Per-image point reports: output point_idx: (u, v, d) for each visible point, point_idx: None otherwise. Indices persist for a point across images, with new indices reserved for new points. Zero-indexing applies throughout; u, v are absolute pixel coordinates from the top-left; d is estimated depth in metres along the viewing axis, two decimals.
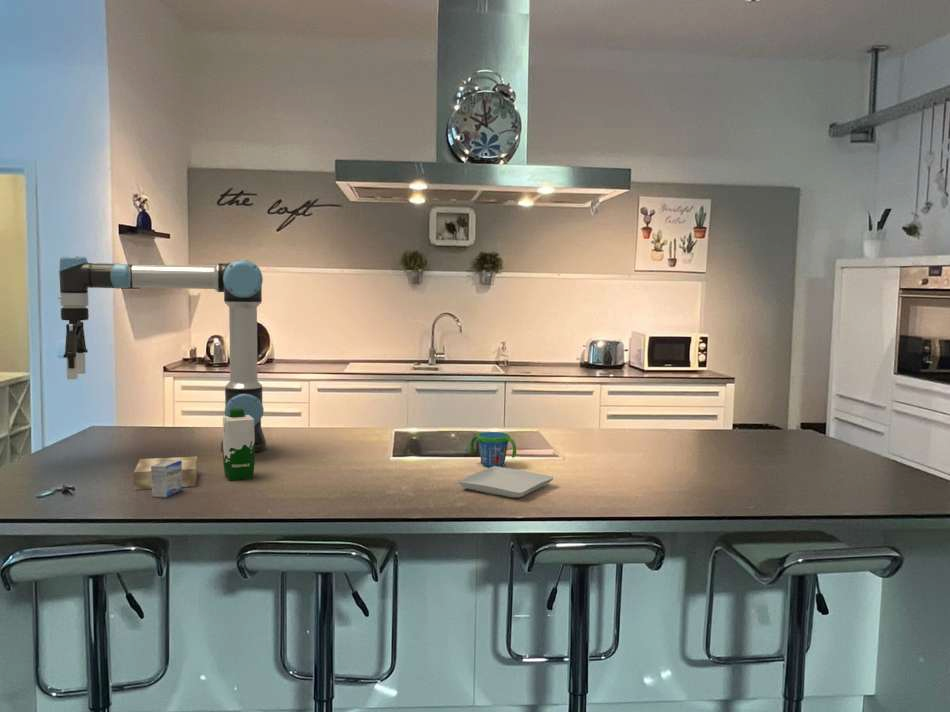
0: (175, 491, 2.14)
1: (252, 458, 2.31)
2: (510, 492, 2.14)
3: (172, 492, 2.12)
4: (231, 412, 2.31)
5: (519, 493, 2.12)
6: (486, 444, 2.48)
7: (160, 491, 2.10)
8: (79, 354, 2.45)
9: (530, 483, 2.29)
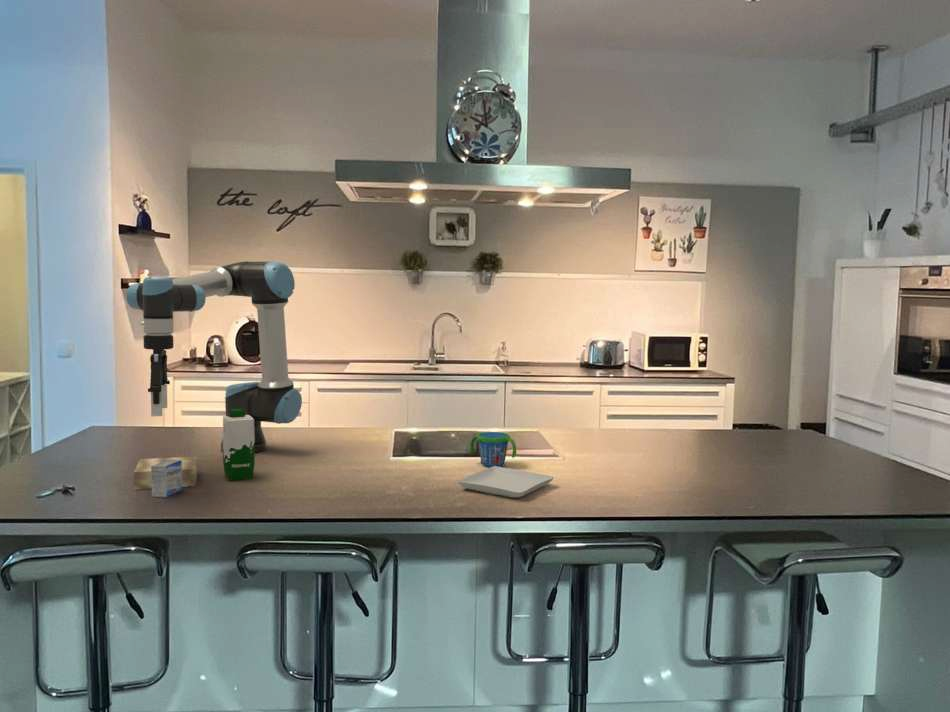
0: (175, 491, 2.14)
1: (252, 458, 2.31)
2: (510, 492, 2.14)
3: (172, 492, 2.12)
4: (231, 412, 2.31)
5: (519, 493, 2.12)
6: (486, 444, 2.48)
7: (160, 491, 2.10)
8: (161, 386, 2.18)
9: (530, 483, 2.29)
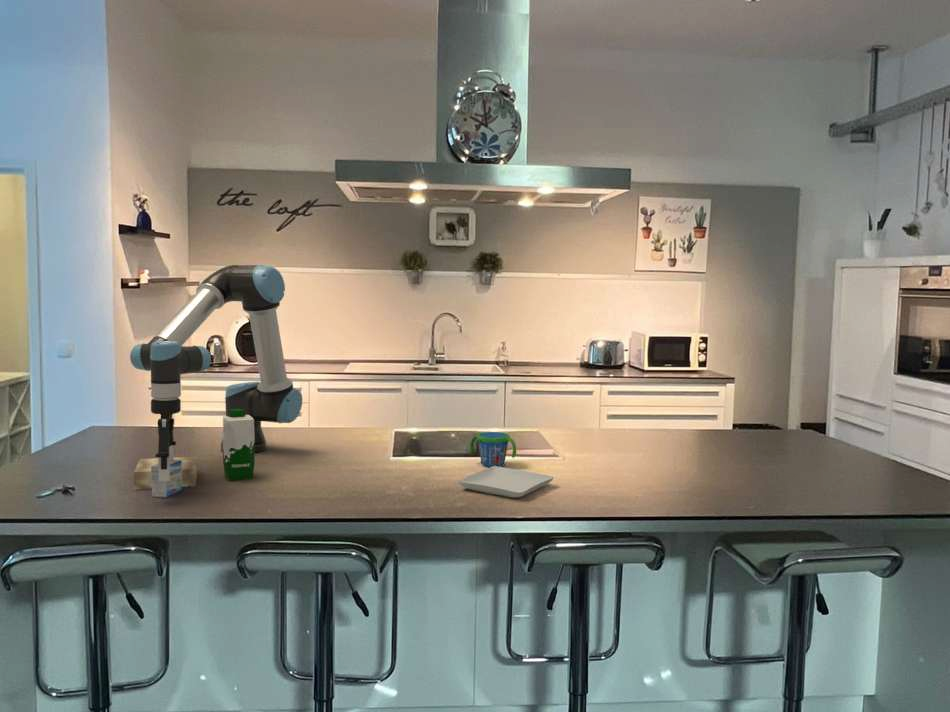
0: (175, 491, 2.14)
1: (252, 458, 2.31)
2: (510, 492, 2.14)
3: (172, 492, 2.12)
4: (231, 412, 2.31)
5: (519, 493, 2.12)
6: (486, 444, 2.48)
7: (160, 491, 2.10)
8: None
9: (530, 483, 2.29)
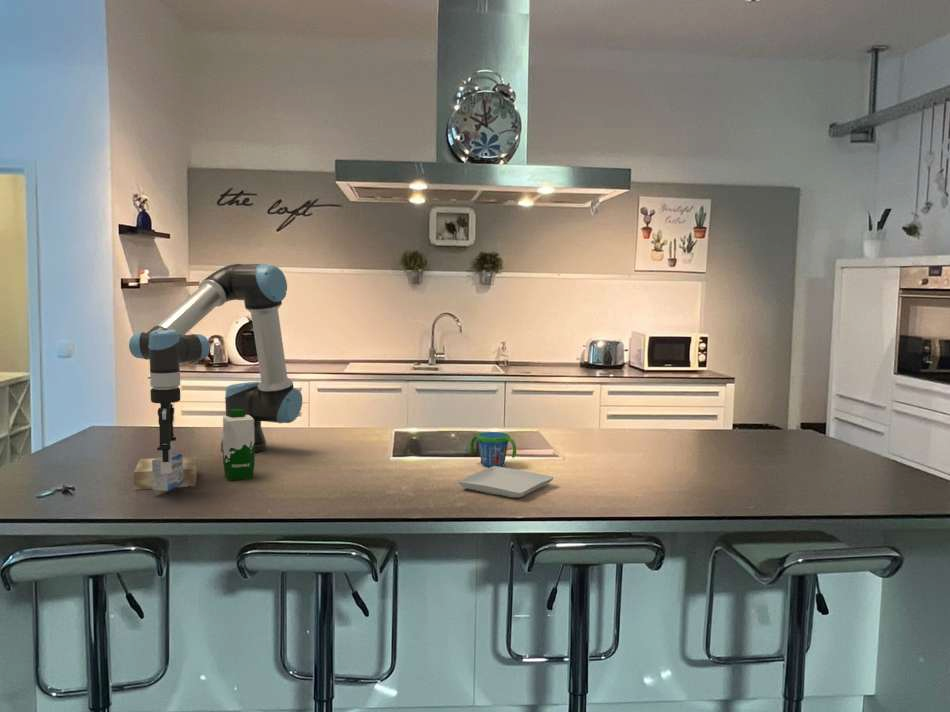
0: (176, 484, 2.14)
1: (252, 458, 2.31)
2: (510, 492, 2.14)
3: (173, 485, 2.12)
4: (231, 412, 2.31)
5: (519, 493, 2.12)
6: (486, 444, 2.48)
7: (161, 485, 2.10)
8: None
9: (530, 483, 2.29)
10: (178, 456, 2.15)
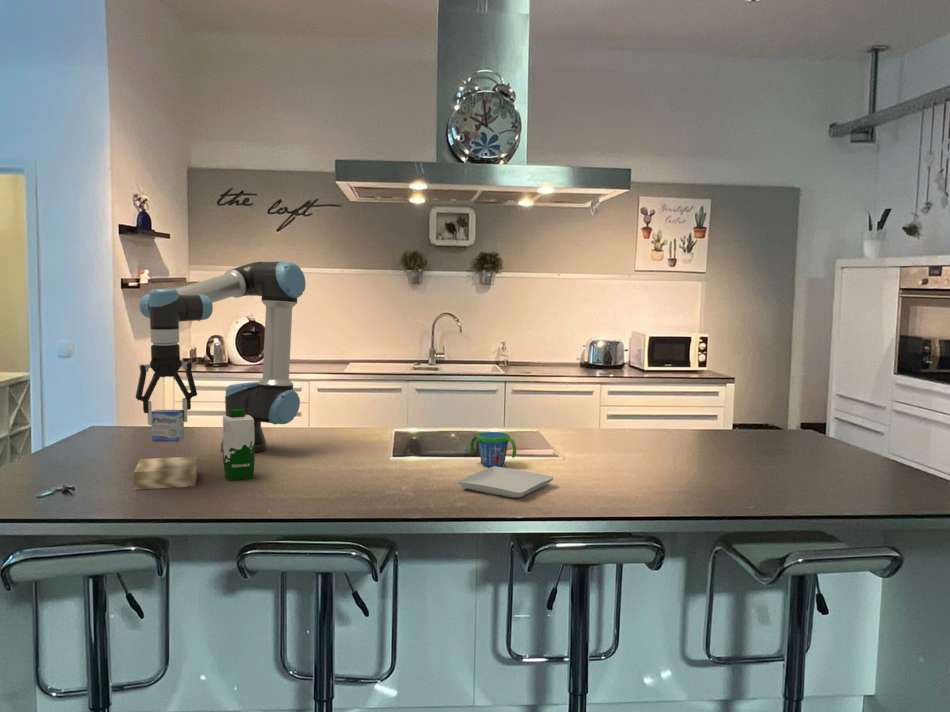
0: (166, 439, 2.20)
1: (252, 458, 2.31)
2: (510, 492, 2.14)
3: (161, 439, 2.20)
4: (231, 412, 2.31)
5: (519, 493, 2.12)
6: (486, 444, 2.48)
7: None
8: (183, 400, 2.24)
9: (530, 483, 2.29)
10: (171, 413, 2.20)
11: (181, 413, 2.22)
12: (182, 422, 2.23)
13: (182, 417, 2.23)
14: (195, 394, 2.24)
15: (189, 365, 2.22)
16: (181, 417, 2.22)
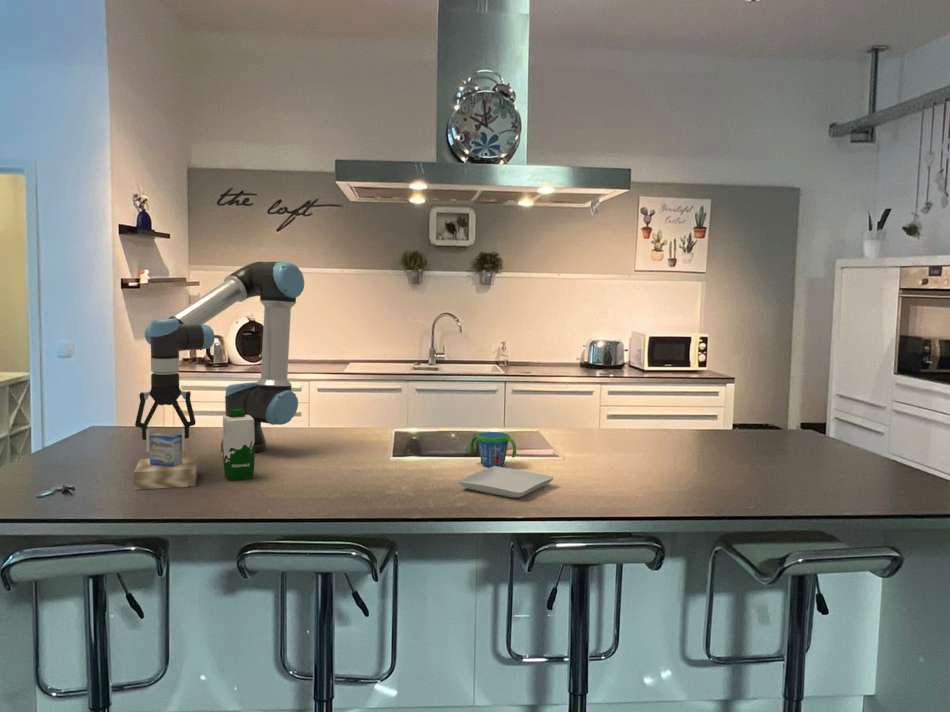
0: (163, 463, 2.24)
1: (252, 458, 2.31)
2: (510, 492, 2.14)
3: (158, 463, 2.24)
4: (231, 412, 2.31)
5: (519, 493, 2.12)
6: (486, 444, 2.48)
7: None
8: (182, 428, 2.26)
9: (530, 483, 2.29)
10: (167, 437, 2.23)
11: (178, 438, 2.25)
12: (179, 447, 2.26)
13: (179, 442, 2.26)
14: (193, 423, 2.26)
15: (187, 394, 2.25)
16: (177, 442, 2.24)
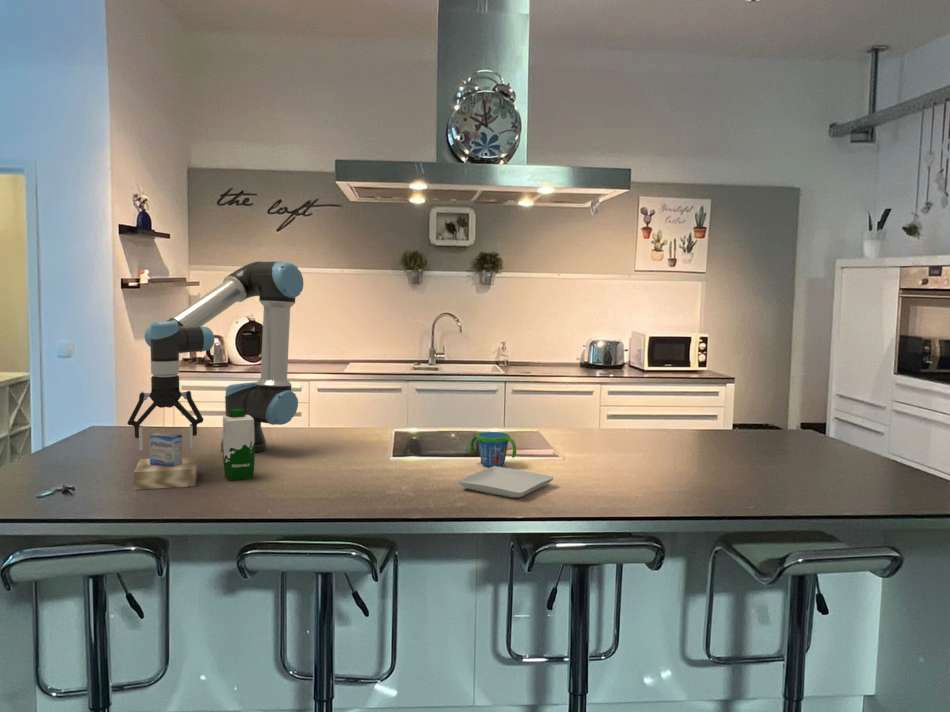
0: (163, 463, 2.24)
1: (252, 458, 2.31)
2: (510, 492, 2.14)
3: (158, 463, 2.24)
4: (231, 412, 2.31)
5: (519, 493, 2.12)
6: (486, 444, 2.48)
7: None
8: None
9: (530, 483, 2.29)
10: (167, 437, 2.23)
11: (178, 438, 2.25)
12: (179, 447, 2.26)
13: (179, 442, 2.26)
14: (201, 420, 2.27)
15: (188, 394, 2.25)
16: (177, 442, 2.24)
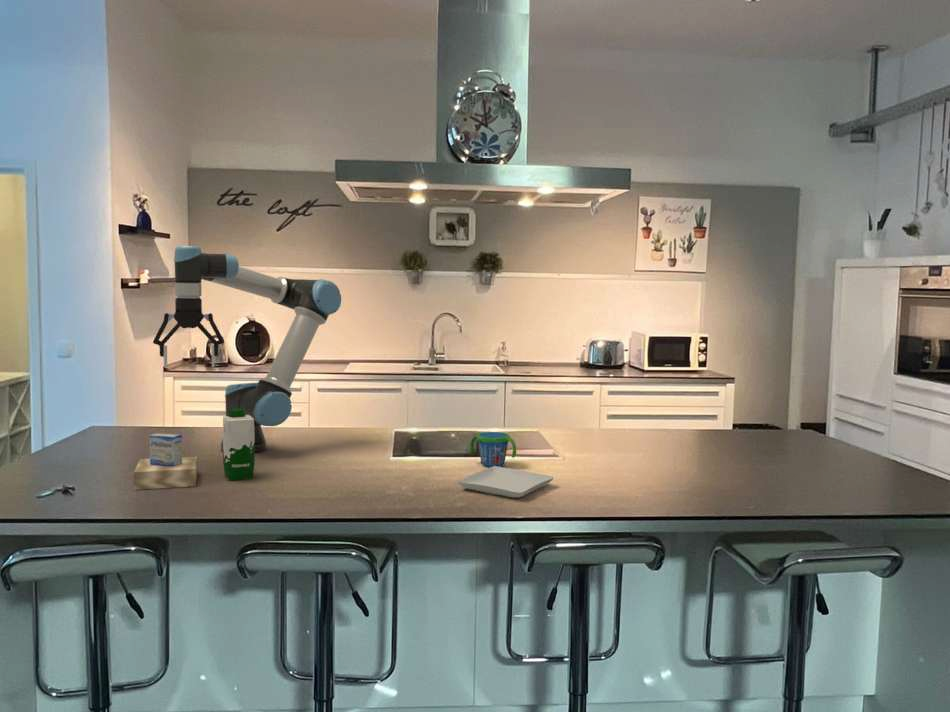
0: (163, 463, 2.24)
1: (252, 458, 2.31)
2: (510, 492, 2.14)
3: (158, 463, 2.24)
4: (231, 412, 2.31)
5: (519, 493, 2.12)
6: (486, 444, 2.48)
7: None
8: None
9: (530, 483, 2.29)
10: (167, 437, 2.23)
11: (178, 438, 2.25)
12: (179, 447, 2.26)
13: (179, 442, 2.26)
14: (222, 341, 2.39)
15: (210, 316, 2.37)
16: (177, 442, 2.24)
